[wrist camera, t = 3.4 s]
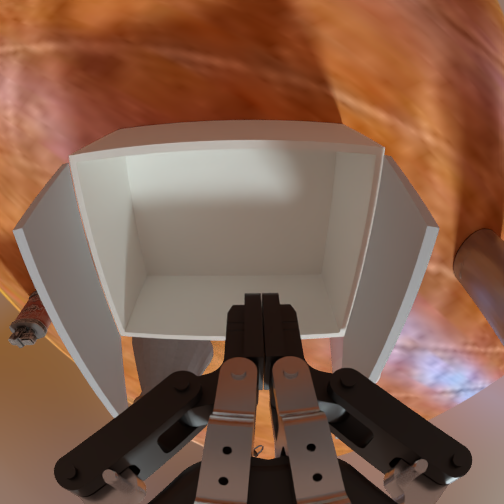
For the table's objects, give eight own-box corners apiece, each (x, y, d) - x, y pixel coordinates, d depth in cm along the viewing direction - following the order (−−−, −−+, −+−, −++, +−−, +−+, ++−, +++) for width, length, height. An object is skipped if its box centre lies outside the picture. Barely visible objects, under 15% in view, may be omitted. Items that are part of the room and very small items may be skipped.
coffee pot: (125, 333, 42) (97, 418, 29) (160, 290, 37) (130, 389, 24) (235, 388, 49) (234, 465, 37) (281, 358, 45) (290, 446, 32)
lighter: (38, 308, 39) (11, 352, 31) (27, 292, 38) (-3, 336, 29) (70, 302, 39) (42, 352, 30) (58, 284, 37) (27, 333, 28)
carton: (342, 124, 27) (385, 147, 18) (324, 275, 36) (344, 336, 28) (119, 129, 26) (68, 155, 18) (144, 276, 36) (120, 335, 27)
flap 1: (22, 228, 9) (12, 230, 9) (132, 432, 18) (126, 433, 18) (68, 162, 18) (62, 164, 17) (120, 337, 27) (116, 338, 27)
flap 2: (383, 155, 18) (391, 156, 18) (343, 338, 27) (348, 339, 27) (427, 225, 9) (439, 228, 9) (335, 438, 18) (341, 438, 18)
